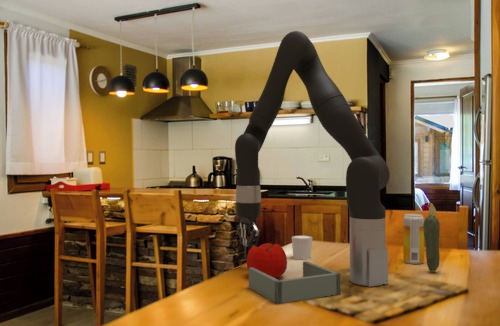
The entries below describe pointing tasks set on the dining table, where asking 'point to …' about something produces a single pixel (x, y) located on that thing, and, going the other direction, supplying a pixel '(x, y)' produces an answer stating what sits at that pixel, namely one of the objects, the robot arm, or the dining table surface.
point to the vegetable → (432, 239)
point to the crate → (296, 284)
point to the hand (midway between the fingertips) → (248, 258)
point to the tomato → (267, 259)
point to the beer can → (413, 238)
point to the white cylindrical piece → (302, 247)
